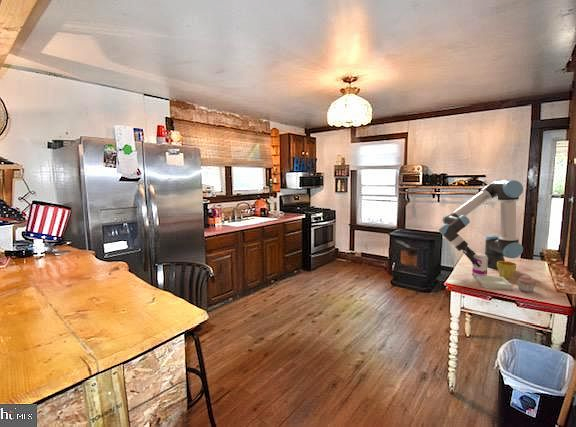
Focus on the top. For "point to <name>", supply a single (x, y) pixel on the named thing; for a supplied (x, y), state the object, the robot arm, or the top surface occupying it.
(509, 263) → the plant pot
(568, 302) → the top surface
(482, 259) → the supplement can
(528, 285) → the cupcake
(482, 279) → the dish
